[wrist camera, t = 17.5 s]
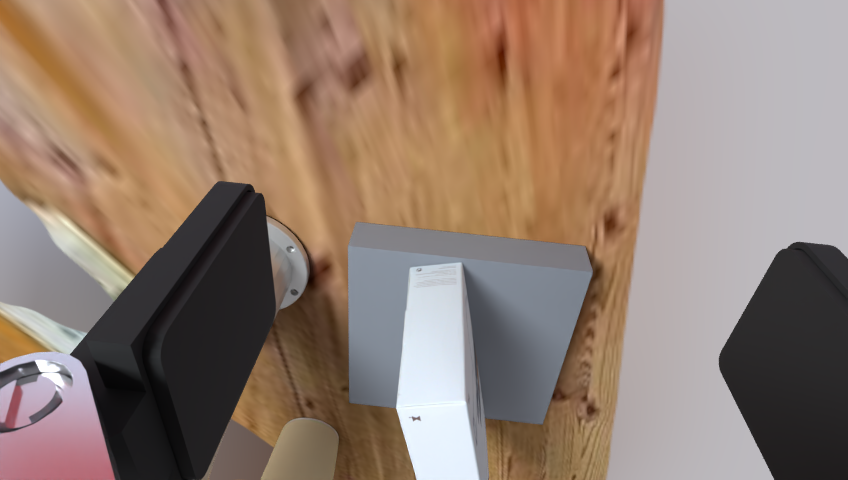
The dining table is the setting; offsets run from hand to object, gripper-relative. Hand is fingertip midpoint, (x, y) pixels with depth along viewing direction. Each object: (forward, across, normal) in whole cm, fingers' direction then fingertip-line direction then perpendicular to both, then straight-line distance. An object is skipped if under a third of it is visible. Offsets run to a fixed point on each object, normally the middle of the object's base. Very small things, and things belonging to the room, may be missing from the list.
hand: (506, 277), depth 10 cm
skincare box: (+31, -2, +33) cm, 45 cm away
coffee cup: (+34, +15, +57) cm, 68 cm away
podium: (+34, -2, +33) cm, 48 cm away
